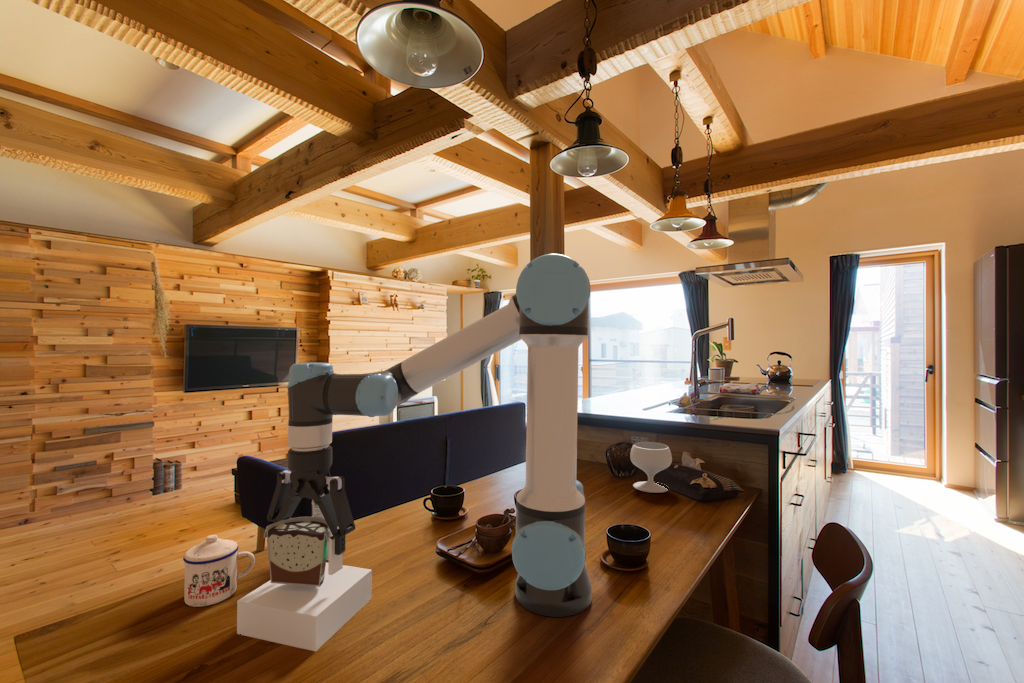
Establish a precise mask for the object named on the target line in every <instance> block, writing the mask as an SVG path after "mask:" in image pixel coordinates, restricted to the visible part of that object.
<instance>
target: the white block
mask: <svg viewBox="0 0 1024 683" xmlns="http://www.w3.org/2000/svg"><path fill="white" fill-rule="evenodd" d="M372 598H373V569H371V568H364V567H358V566H352V565H344V564H343V568H342V569H340V570H339V571H337V572H336V573H334V574H333V575H329V574H328V561H326V566H325V575H324V581H323V584H322V585H321V586H320V587H316V586H303V585H290V584H277V583H271V580H268V581H267V582H264V583H263V584H261V585H260V586H259V587H257V588H256V589H253V590H252V591H251V592H249V593H247V594H246V595H244V596H243V597H241V598H239V599H238V600H237V601H236V602H237V604H236V605H237V606H236V610H237V611H236V615H237V616H236V634H237V635H240V634H241V635H240V636H246V637H248V638H249V637H250V638H254V639H259V640H262V641H267V642H272V643H276V644H279V645H280V644H281V645H285V646H290V647H294V648H298V649H301V650H302V649H303V650H308V651H313V652H317V651H318V650H319V649H320V648H321V647H322V646H323V645H324V644H325V643H327V642H328V641H329V639H331V638H332V637H333V636H334V635H335V634H336V633H337V632H338V631H339V630H340V629H341V628H342V627H343V626H345V625H346V623H348V622H349V621H350V620H351V619H352V618H353V617H354V616H355V615H356V614H357V613H358V612H359V611H360V610H361V609H363V607H364V606H366V605H367V604H366V603H369V602H370V601H371V600H372ZM369 600H370V601H369Z"/></svg>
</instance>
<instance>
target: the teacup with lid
mask: <svg viewBox="0 0 1024 683" xmlns="http://www.w3.org/2000/svg"><path fill="white" fill-rule="evenodd" d="M238 550H239V544H238V543H237V542H236V541H235V540H232V539H227V538H226V539H224V538H220V537H218V535H217V534H209V535H207V536H206V538H205V540H204V541H202V542H200V543H198V544H196V545H194V546H192V547H191V548H188V550H187V551H186V552H185V553H184V555H183V558H182V559H183V560H182V561H183V562H184V586H183V587H184V589H183V590H184V592H183V593H184V594H183V595H184V596H183V597H184V600H183V602H185V604H186V605H188V606H189V607H194V608H196V607H197V608H199V607H200V608H201V607H202V608H203V607H207V606H212V605H216V604H218V603H220V602H222V601H225V600H226V599H229V598H230V597H231V596H232V595H234V593H235V592H236V590H237V588H238V587H237V586H238V584H237V583H238V582H237V580H238V579H241V578H244V577H246V576H247V575H249V573H250V572H251V571H252V570H253V568H254V566H255V562H256V560H255V559H256V558H255V555H254V553H252V552H251V551H246V550H245V551H244V550H243V551H239V552H238ZM241 557H247V558H249V559H250V564H249V566H248V567H247V569H245V570H243V571H242V572H238V558H241ZM237 572H238V573H237ZM194 575H195V576H194Z"/></svg>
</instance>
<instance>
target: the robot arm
mask: <svg viewBox="0 0 1024 683" xmlns="http://www.w3.org/2000/svg"><path fill="white" fill-rule="evenodd" d="M590 296H591V282H590V278H589V276H588V273H587V272H586V271H585V269H584V268H583V267H582V265H580V263H578V261H577V260H575V259H573V258H571V256H570V257H569V256H567V255H565V254H560V253H548V254H547V253H546V254H544V255H543V254H542V255H540V256H538V257H536V258H534V259H532V260H531V261H529V263H527V264H526V265H525V266H524V267H523V269H522V270H521V272H520V274H519V276H518V279H517V283H516V288H515V294H513V295H512V296H510V298H509V300H508V303H507V304H506V305H504V306H502V307H500V308H499V309H497V310H495V311H493V312H492V313H489V314H487V315H486V316H484V317H482V318H480V319H478V320H476V321H474V322H473V323H471V324H468V325H467V326H465V327H463V328H462V329H459V330H457V331H456V332H454V333H453V334H450V335H449V336H447V337H445V338H443V339H442V340H439V341H437V342H436V343H434V344H432V345H429V346H428V347H426V348H424V349H423V350H421V351H418V352H417V353H415V354H413V355H411V356H410V357H408V358H406V359H404V360H402V361H401V362H399V363H396V364H394V365H393V366H391V367H389V368H388V369H385V370H380V371H375V372H366V373H347V374H346V373H343V374H342V373H335V372H334V366H333V364H332V363H329V362H296V363H293V364H292V365H290V367H289V371H288V385H287V387H286V388H287V398H288V399H287V400H288V402H287V403H288V420H287V421H288V423H287V446H288V447H289V450H287V469H285V470H282V471H279V472H277V474H276V485H275V489H274V492H273V496H272V499H271V502H270V506H269V508H268V509H269V510H268V512H267V516H266V520H267V522H273V523H276V522H279V521H282V520H286V519H291V518H292V516H293V514H294V513H295V511H296V509H297V507H298V506H299V504H300V502H301V501H302V499H305V498H306V499H308V500H311V501H312V500H313V501H314V503H315V504H317V505H318V506H319V508H320V510H321V512H322V514H323V517H324V519H325V521H326V523H327V525H328V527H329V529H330V531H331V533H332V536H330V537H329V555H328V561H327V563H328V574H329V575H333V574H334V573H336V572H337V571H339V570H340V569H342V568H343V565H344V563H343V559H344V558H343V555H344V554H343V553H345V551H346V536H347V535H348V534H350V533H351V532H354V531H355V530H356V525H355V520H354V517H353V514H352V513H353V512H352V511H351V507H350V503H349V500H348V497H347V493H346V488H345V485H346V484H345V483H346V480H345V477H344V476H343V475H341V476H337V477H338V478H334V477H335V476H332V475H331V473H330V469H331V467H332V465H333V447H332V445H330V444H332V442H333V417H334V416H354V417H355V416H357V417H358V416H363V417H369V418H374V417H387V416H390V415H391V414H393V412H394V411H395V410H394V409H396V407H397V406H400V405H402V404H405V403H406V402H408V401H409V400H410V399H411V398H413V397H415V396H417V395H418V394H420V393H423V391H425V390H427V389H429V388H431V387H433V386H435V385H438V384H440V383H441V382H442V381H446V380H447V379H449V378H450V377H453V376H454V375H456V374H459V373H460V372H462V371H464V370H465V369H468V368H470V367H472V366H474V365H475V364H477V363H479V362H481V361H483V360H485V359H487V358H489V357H490V356H493V355H494V354H497V353H498V352H500V351H502V350H504V349H506V348H508V347H510V346H511V345H513V344H515V343H517V342H519V341H523V342H524V343H525V345H526V346H527V378H526V380H527V381H526V384H527V386H526V387H527V389H526V393H527V394H526V432H525V433H526V434H525V435H526V437H525V438H526V441H525V443H526V444H525V445H526V446H525V448H526V449H525V486H524V487H523V488H522V489H521V490H520V491H519V492H517V494H516V500H515V501H516V505H515V507H516V508H515V535H514V537H513V540H512V542H511V557H512V563H513V565H514V568H515V570H516V572H517V576H516V579H515V598H516V600H517V602H518V603H519V605H520V606H522V607H523V608H524V609H526V610H527V611H530V612H531V613H534V614H537V615H539V616H545V617H551V618H552V617H555V618H558V617H559V618H563V617H569V616H570V617H571V616H574V615H577V614H579V613H581V612H583V611H585V610H586V609H587V608H588V607H590V605H591V603H592V599H593V598H592V596H593V593H592V592H593V589H592V582H591V580H590V576H589V573H588V570H587V566H586V560H587V549H586V547H585V543H586V542H585V538H586V536H585V535H586V533H585V532H586V531H585V530H586V529H585V528H586V527H585V526H586V498H585V494H584V485H583V484H582V482H580V481H579V480H577V471H578V470H577V465H578V464H577V463H578V462H577V461H578V460H577V459H578V458H577V457H578V455H577V454H578V409H579V408H578V407H579V406H578V404H579V403H578V398H579V396H578V395H579V394H578V393H579V347H580V346H581V345H582V344H583V343H584V342H585V341H586V340H587V339H588V337H589V336H588V335H589V299H590ZM328 485H329V486H328ZM323 493H324V494H325V495H324V496H322V495H323ZM320 496H322V497H320ZM337 527H339V529H338V528H337Z"/></svg>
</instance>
